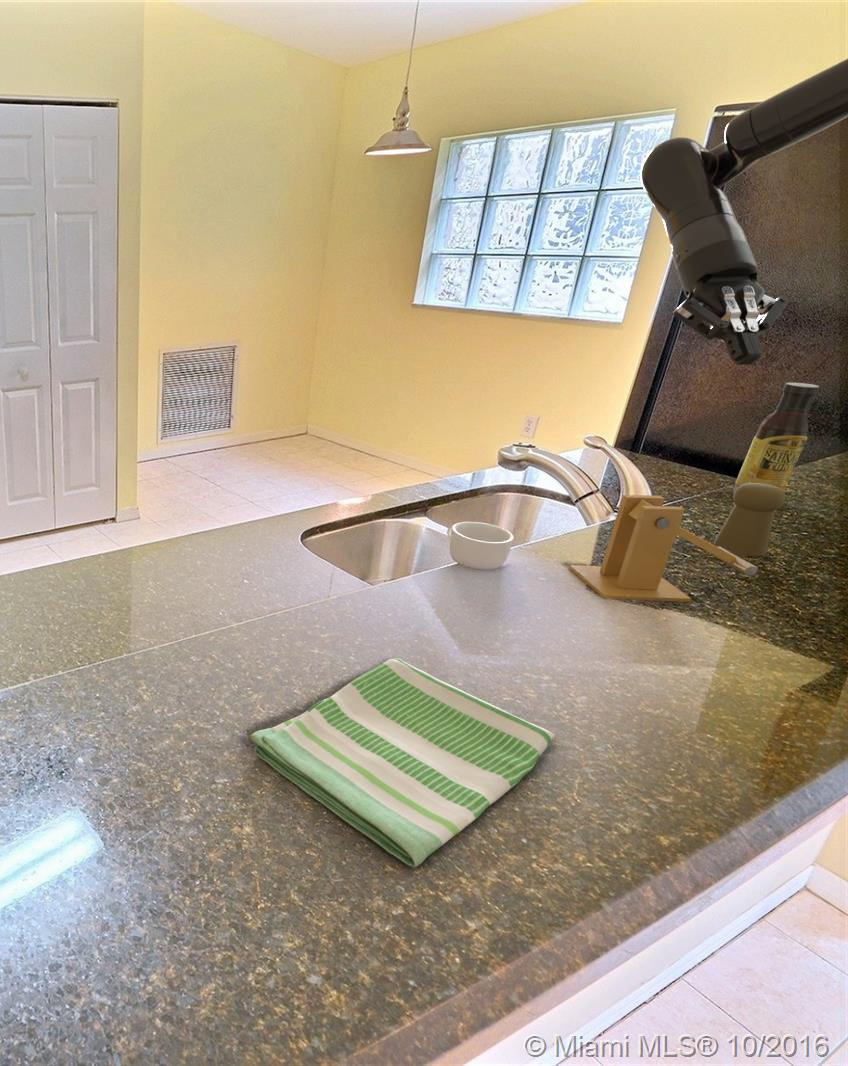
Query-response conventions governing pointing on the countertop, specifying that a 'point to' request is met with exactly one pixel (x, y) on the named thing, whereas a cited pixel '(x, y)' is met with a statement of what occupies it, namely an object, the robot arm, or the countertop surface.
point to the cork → (750, 520)
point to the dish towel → (404, 756)
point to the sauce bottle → (779, 439)
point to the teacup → (479, 545)
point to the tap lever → (708, 546)
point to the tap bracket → (637, 553)
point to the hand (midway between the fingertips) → (749, 361)
